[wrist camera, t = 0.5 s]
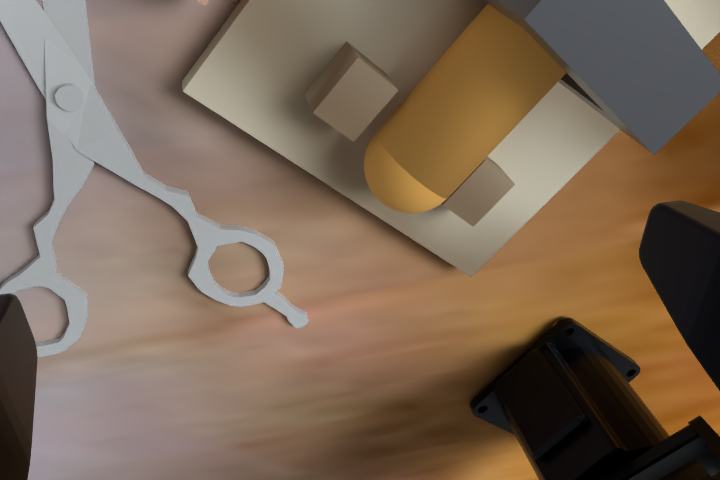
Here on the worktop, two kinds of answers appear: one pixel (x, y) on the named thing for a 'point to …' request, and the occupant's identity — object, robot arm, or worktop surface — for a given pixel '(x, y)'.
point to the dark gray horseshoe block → (623, 61)
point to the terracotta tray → (203, 2)
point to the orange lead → (458, 113)
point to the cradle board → (394, 107)
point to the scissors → (110, 149)
